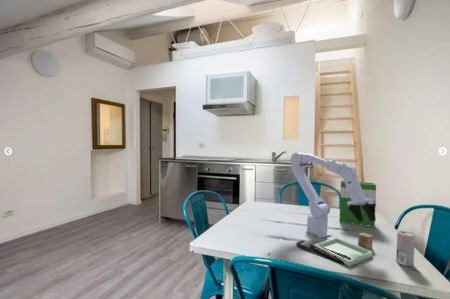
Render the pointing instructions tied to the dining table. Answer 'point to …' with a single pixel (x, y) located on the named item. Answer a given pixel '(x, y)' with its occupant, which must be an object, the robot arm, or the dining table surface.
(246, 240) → the dining table surface
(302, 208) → the dining table surface
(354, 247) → the tray
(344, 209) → the hardback book
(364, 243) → the walnut block
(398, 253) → the energy drink
